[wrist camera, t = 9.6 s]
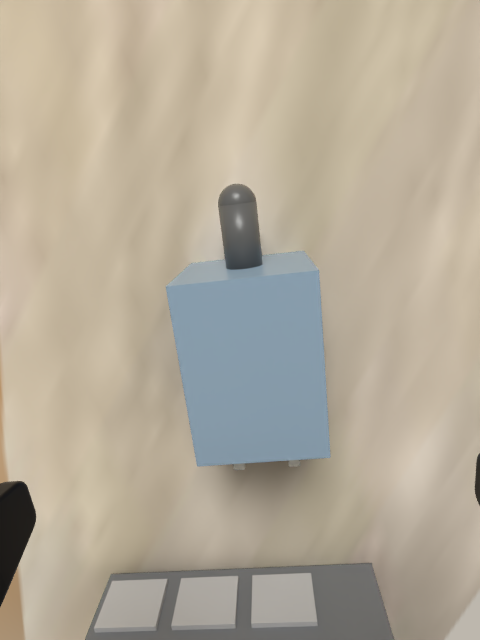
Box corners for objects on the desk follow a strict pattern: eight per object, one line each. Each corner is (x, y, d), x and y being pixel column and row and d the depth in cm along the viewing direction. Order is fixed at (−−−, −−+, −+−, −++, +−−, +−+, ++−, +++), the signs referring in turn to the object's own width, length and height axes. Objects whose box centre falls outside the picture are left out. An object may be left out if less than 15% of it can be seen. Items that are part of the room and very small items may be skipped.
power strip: (372, 616, 23) (399, 719, 19) (124, 623, 25) (92, 721, 20) (371, 559, 22) (399, 653, 17) (109, 570, 23) (72, 661, 19)
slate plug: (316, 426, 20) (332, 497, 15) (217, 433, 20) (204, 505, 16) (298, 178, 17) (312, 170, 12) (180, 193, 17) (149, 191, 12)
